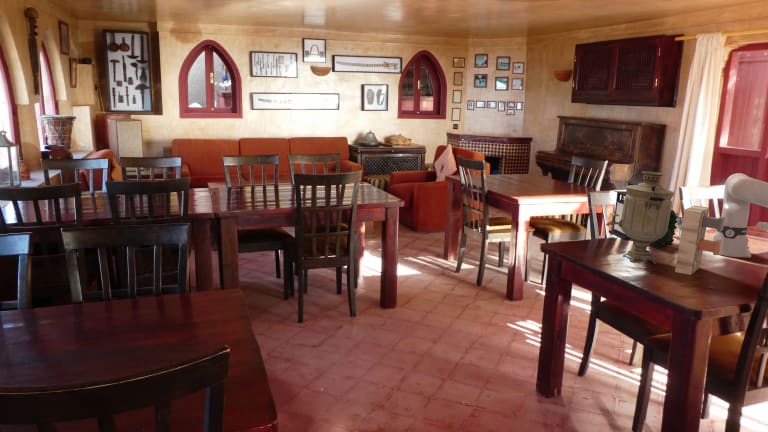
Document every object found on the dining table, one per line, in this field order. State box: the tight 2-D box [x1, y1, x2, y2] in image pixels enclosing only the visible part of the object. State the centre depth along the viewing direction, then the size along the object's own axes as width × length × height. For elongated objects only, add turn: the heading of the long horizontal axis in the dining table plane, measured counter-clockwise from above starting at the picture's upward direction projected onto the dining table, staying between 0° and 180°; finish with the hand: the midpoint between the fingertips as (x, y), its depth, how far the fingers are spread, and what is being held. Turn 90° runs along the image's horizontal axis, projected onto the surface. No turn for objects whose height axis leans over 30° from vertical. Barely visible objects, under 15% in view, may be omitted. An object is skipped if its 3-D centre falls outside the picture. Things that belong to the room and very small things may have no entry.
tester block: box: [674, 205, 710, 276], centre depth 241 cm, size 16×6×27 cm, turn 139°
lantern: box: [608, 172, 643, 241], centre depth 301 cm, size 17×17×35 cm
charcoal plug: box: [701, 215, 725, 232], centre depth 236 cm, size 6×9×6 cm, turn 49°
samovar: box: [605, 171, 675, 265], centre depth 254 cm, size 30×26×40 cm
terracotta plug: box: [698, 239, 721, 256], centre depth 238 cm, size 6×9×6 cm, turn 49°
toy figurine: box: [652, 209, 678, 249], centre depth 284 cm, size 9×19×25 cm
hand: (757, 224), depth 225 cm, fingers closed
